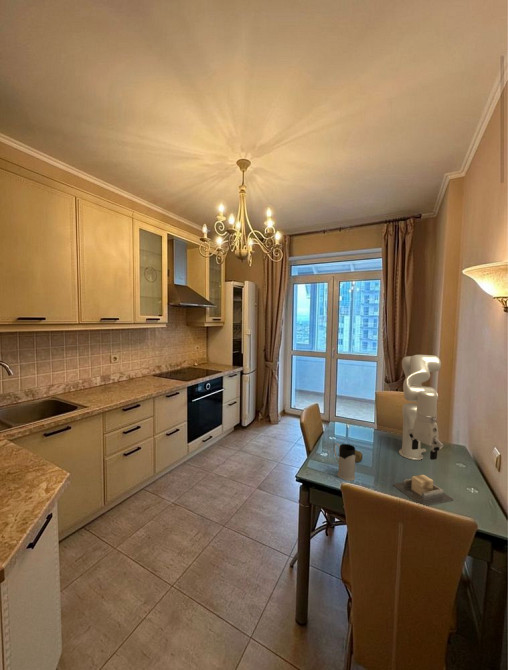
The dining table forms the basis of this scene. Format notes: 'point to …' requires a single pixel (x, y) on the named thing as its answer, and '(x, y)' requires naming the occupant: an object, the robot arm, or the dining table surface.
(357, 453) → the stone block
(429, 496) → the cradle
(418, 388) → the robot arm
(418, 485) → the oak lock block
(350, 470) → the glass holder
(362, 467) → the dining table surface
